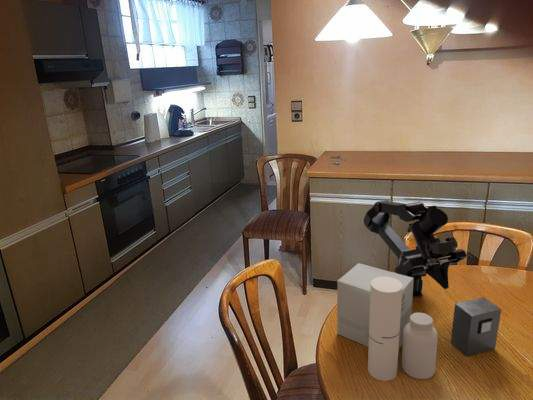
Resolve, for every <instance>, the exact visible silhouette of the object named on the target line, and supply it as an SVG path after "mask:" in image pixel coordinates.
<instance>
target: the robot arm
mask: <svg viewBox="0 0 533 400" xmlns="http://www.w3.org/2000/svg"><path fill="white" fill-rule="evenodd" d="M391 215H394V216H397V217H399V220H401V221H403V222H404V223H405V222H406V223H409V222H411V223H409V224H408V228H407V231H406V232H407V233H411V234H412V236H413V238H414V241H415V243H416V246H415V249H411V248H410V247H409V246H408V245H407V244H406V243H405V242H404V240H402V238H401V237H400V236H399V235H398V234H397V232H395V231H394V229H393V228H392V227H391V226H390V218H391ZM448 222H449V217H448V215H447V213H446V212H445V211H444V210H442V209H440V208H437V206H436V205H435V204H434V205H429V206H428V207H427V206H426V205H425V204H424V202H422V201H416V202H410V203H409V202H408V203H403V202H395V201H390V200H385V199H384V200H379V201H376V202H375V203H374V205H373V206H372V207H371V208H369V210H368V211H366V214H365V216H364V217H363V224H364V227H366V229H368V230H369V231H370V232H371V233H373V234H376V235H379V237H380V238H381V239H382V240H383V242H384V243H385V244H386V245H387V246H388V248H389V249H390V250H391V251H392V252H393V254H394V255H395V256H396V257H397V259H398V266H396V267H395V268H394V270H395V271H394V273H397V274H401V275H404V276H408V277H413V278H414V281H413V297H423V293H422V291H423V286H424V285H423V283H424V281H423V279H422V277H426V276H427V275H428V276H429V277H430V278H432V279H433V280H434V281H435V282H436V283H437V284H439V286H441V288H443V289H444V290H448V289H449V288H450V286H449V285H450V284H449V267H450V265H455V264H458V263H460V262H461V261H463V260H465V259H467V258H468V255H467V252H466V250H464V249H462V248H460V249H457V248H458V242H457V239H456V237H454V236H451V237H446V238H445V241H441V239H440V238H439V237H436V236H435V233H437V232H438V231H439V230H441V229H442V228H443V227H444V226H445V225H447V224H448Z"/></svg>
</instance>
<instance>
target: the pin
mask: <svg viewBox="0 0 533 400" xmlns="http://www.w3.org/2000/svg"><path fill="white" fill-rule="evenodd" d="M491 322H492V321H490V320H489V319H485V320H481V321H479V325H478V331H479V332H481V333H483V332H487V331H490V328H491Z"/></svg>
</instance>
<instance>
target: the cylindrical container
mask: <svg viewBox="0 0 533 400" xmlns="http://www.w3.org/2000/svg"><path fill="white" fill-rule="evenodd" d="M401 301H402V283H401V282H400V281H399V280H397V279H395V278H391V277H377V278H374V279H373V280H372V281H371V290H370V320H369V347H368V349H367V350H368V354H367V356H368V358H367V359H368V360H367V370H368V373H369V375H370V376H371V377H372V378H374V379H376V380H379V381H385V382H387V381H392V380H394V379H395V378H396V376H397V375H398V362H399V350H400V349H399V333H400V317H401ZM398 349H399V350H398Z"/></svg>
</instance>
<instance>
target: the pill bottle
mask: <svg viewBox="0 0 533 400" xmlns="http://www.w3.org/2000/svg"><path fill="white" fill-rule="evenodd" d="M438 339H439V334H438V331H437V329H436V328H435V327H434V319H433V318H432V316H430V315H429V314H427V313H424V312H414V313H412V315H411V316H410V322H409V323H407V324H406V325H405V327H404V330H403V345H402V351H401V352H402V353H401V355H402V356H401V367H402V370H403V371H404V372H405V373H406V374H407V375H408V376H410V377H411V378H414V379H418V380H427V379H430V378H432V377H433V376H434V375H435V373H436V363H437V361H436V360H437V351H438Z"/></svg>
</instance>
